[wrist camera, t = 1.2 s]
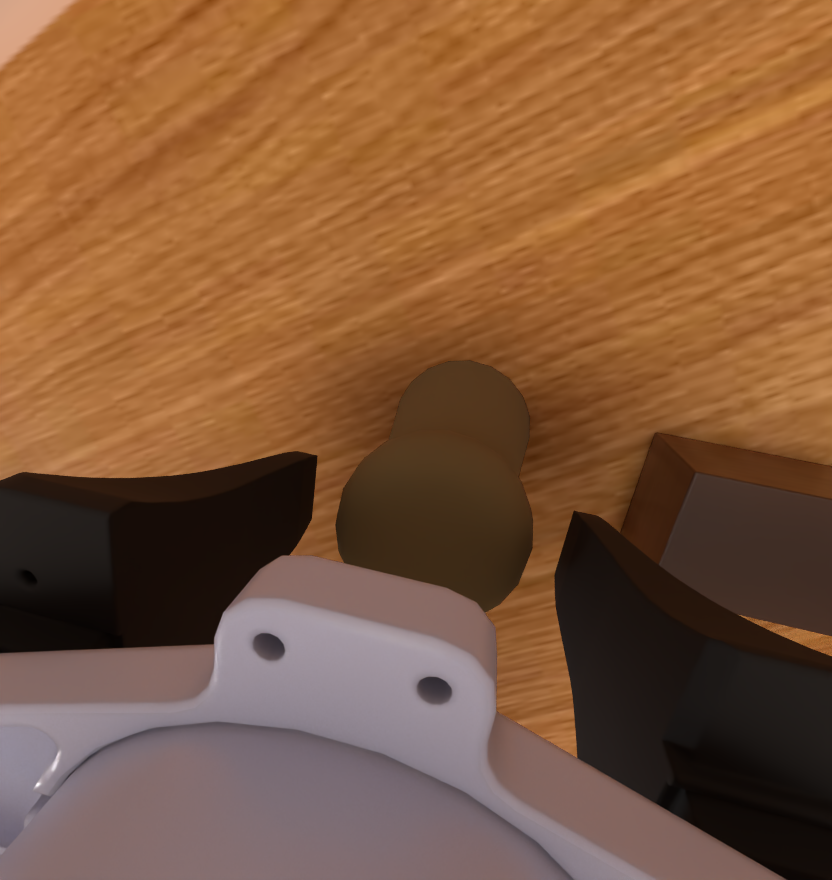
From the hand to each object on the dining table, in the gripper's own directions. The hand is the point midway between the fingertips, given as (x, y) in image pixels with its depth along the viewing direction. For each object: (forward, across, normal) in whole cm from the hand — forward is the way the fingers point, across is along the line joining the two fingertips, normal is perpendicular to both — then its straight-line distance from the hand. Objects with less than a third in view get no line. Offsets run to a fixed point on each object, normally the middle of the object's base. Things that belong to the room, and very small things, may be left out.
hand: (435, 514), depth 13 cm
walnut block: (+9, -13, +1) cm, 16 cm away
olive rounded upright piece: (+9, 0, 0) cm, 9 cm away
